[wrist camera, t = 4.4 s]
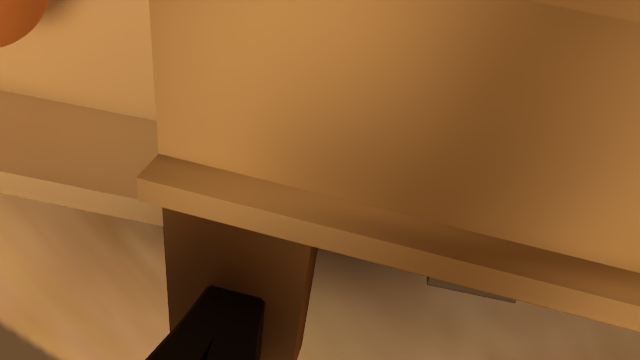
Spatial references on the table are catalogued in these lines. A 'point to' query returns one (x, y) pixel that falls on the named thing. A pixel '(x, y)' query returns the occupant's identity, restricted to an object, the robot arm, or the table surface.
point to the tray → (81, 109)
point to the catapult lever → (398, 149)
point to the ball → (19, 18)
